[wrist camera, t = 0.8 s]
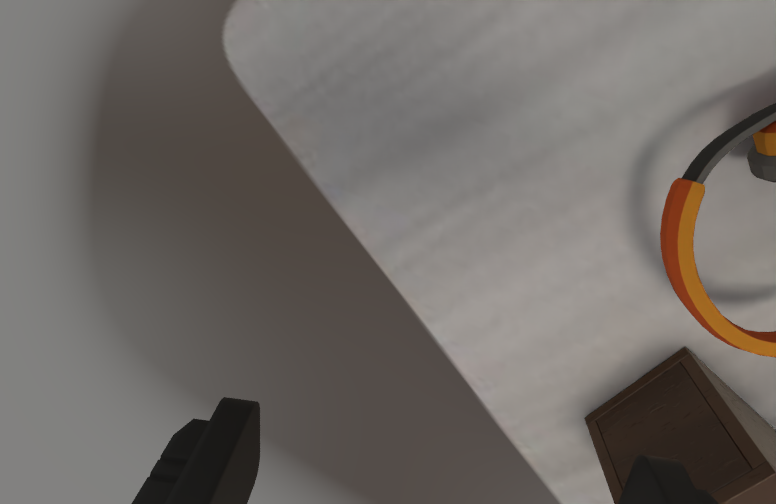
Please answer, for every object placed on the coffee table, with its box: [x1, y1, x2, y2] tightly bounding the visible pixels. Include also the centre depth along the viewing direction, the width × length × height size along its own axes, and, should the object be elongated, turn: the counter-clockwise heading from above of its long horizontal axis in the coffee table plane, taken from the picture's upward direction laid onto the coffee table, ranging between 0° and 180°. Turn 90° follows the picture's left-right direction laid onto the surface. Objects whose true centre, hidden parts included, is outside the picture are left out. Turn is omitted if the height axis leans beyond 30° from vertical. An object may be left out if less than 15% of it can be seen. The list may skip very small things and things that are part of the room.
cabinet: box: [585, 347, 776, 504], centre depth 30 cm, size 9×7×9 cm
